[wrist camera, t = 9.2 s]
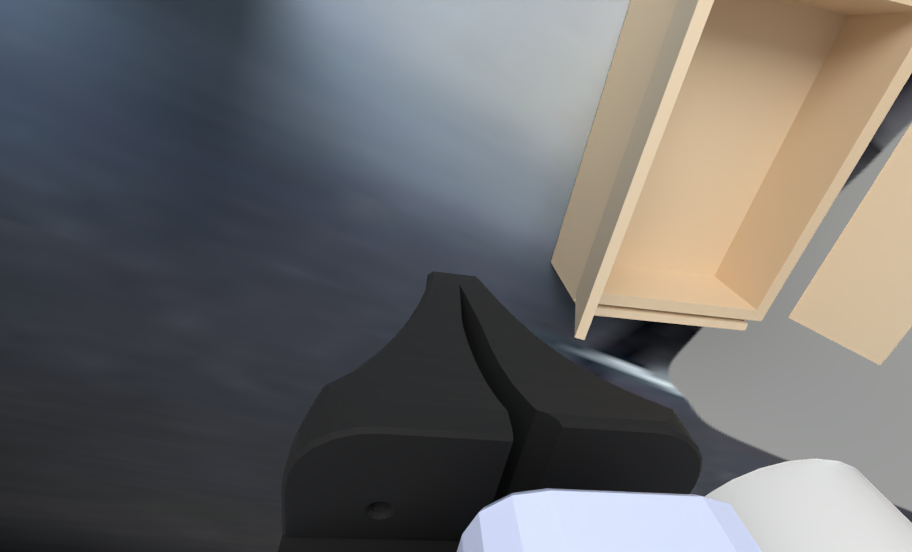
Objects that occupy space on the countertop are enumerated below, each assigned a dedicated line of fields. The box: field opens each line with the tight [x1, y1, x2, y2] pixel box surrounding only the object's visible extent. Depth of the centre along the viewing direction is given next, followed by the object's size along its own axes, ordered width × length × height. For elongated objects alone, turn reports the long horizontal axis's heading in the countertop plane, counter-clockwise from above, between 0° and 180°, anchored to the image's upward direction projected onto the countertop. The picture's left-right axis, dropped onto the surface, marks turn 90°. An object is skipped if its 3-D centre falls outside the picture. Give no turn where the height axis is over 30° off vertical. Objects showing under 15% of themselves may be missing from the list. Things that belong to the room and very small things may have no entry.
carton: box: [551, 0, 912, 331], centre depth 20 cm, size 15×10×4 cm, turn 170°
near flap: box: [575, 0, 714, 340], centre depth 15 cm, size 12×4×1 cm
